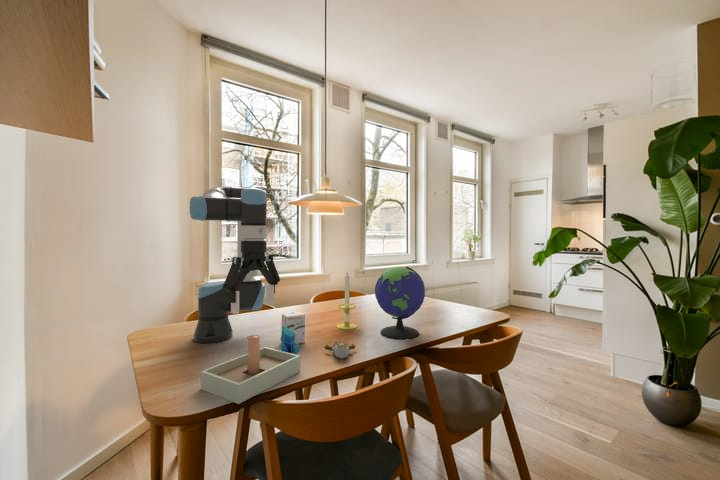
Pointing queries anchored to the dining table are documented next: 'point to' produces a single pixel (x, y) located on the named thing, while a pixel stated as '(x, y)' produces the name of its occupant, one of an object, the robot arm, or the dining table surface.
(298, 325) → the ink box
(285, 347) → the gemstone
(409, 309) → the globe
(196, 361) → the dining table surface
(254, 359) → the peg
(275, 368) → the box
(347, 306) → the candle
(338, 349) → the toy
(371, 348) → the dining table surface
